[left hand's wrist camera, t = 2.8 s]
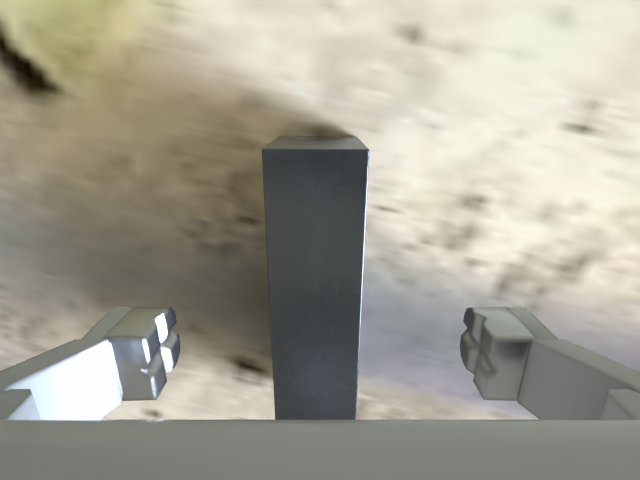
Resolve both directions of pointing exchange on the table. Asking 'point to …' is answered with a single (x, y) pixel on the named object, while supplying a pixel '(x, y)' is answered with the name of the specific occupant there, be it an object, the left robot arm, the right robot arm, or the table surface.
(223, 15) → the table surface
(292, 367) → the box
